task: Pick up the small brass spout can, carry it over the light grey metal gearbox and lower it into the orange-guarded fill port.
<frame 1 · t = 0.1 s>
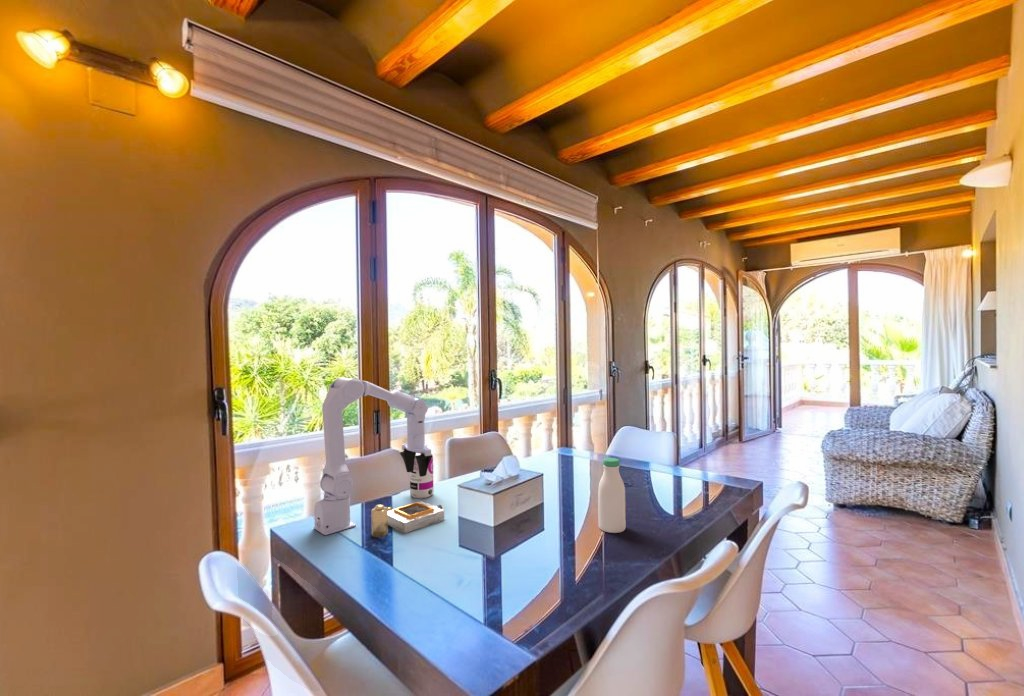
hand: (416, 473, 157), 10 cm above the table, tool pointing down, fingers open, 7 cm apart
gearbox: (413, 521, 141), on the table
supplement can: (421, 495, 166), on the table
spout can: (379, 533, 132), on the table
milk bottle: (612, 529, 134), on the table
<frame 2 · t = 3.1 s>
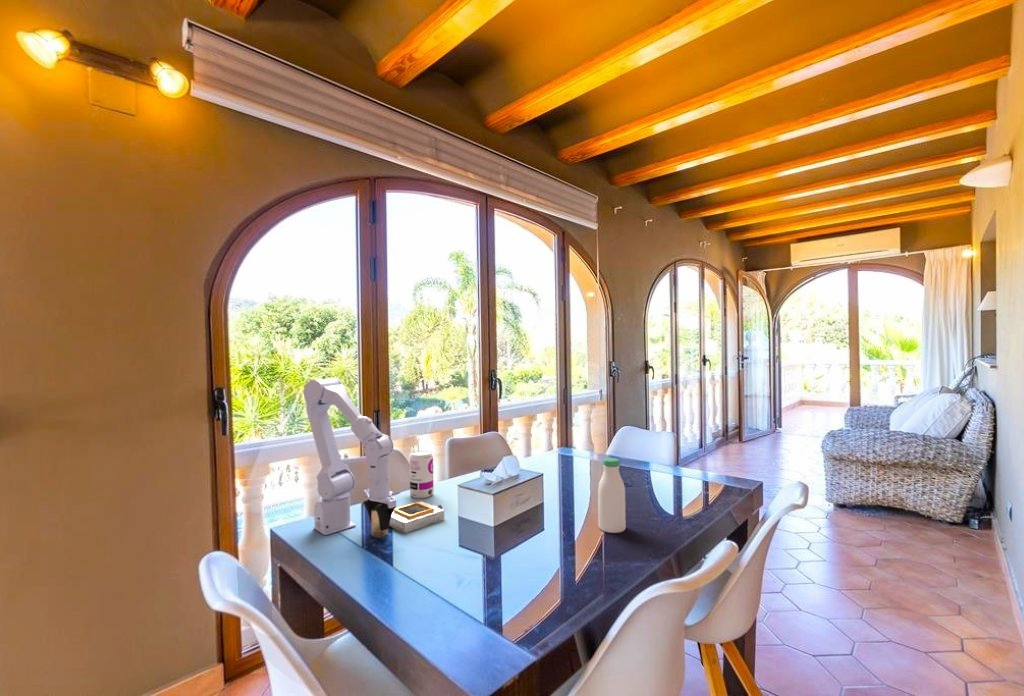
hand: (379, 527, 132), 2 cm above the table, tool pointing down, fingers closed on spout can, 4 cm apart
spout can: (379, 533, 132), on the table, touching gripper
everything else where it was.
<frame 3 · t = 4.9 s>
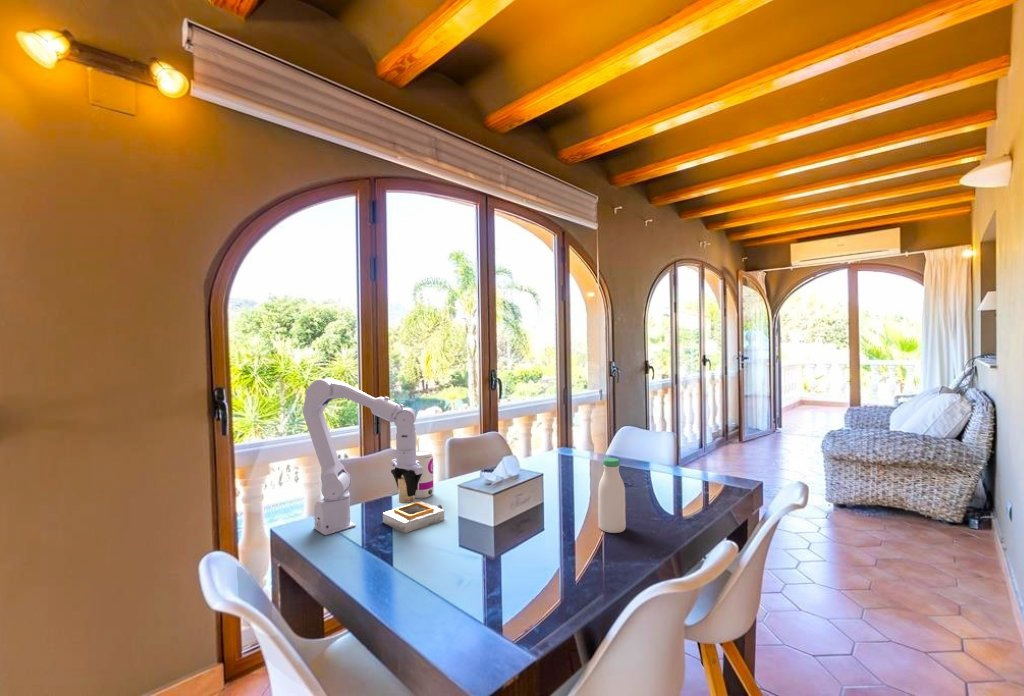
hand: (406, 493, 139), 9 cm above the table, tool pointing down, fingers closed on spout can, 4 cm apart
spout can: (406, 500, 139), point 7 cm above the table, touching gripper
everything else where it was.
when the fingers open (4 cm above the table, at t = 7.0 s): spout can drops 2 cm, resting in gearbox.
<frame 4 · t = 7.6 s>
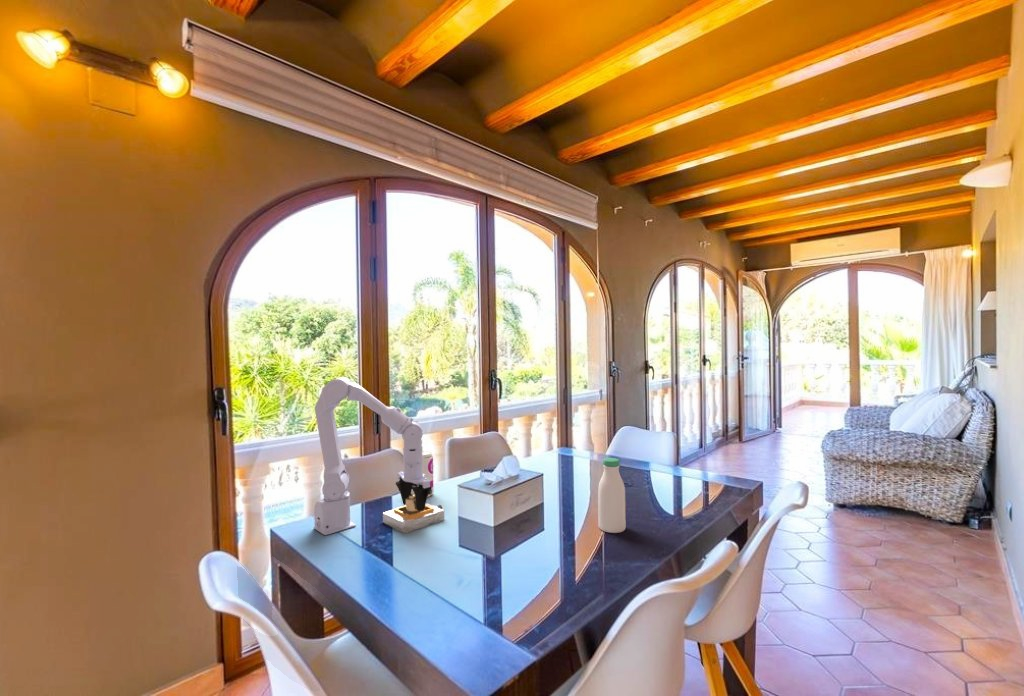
hand: (413, 506, 141), 4 cm above the table, tool pointing down, fingers open, 7 cm apart
spout can: (413, 521, 141), resting in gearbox
everything else where it was.
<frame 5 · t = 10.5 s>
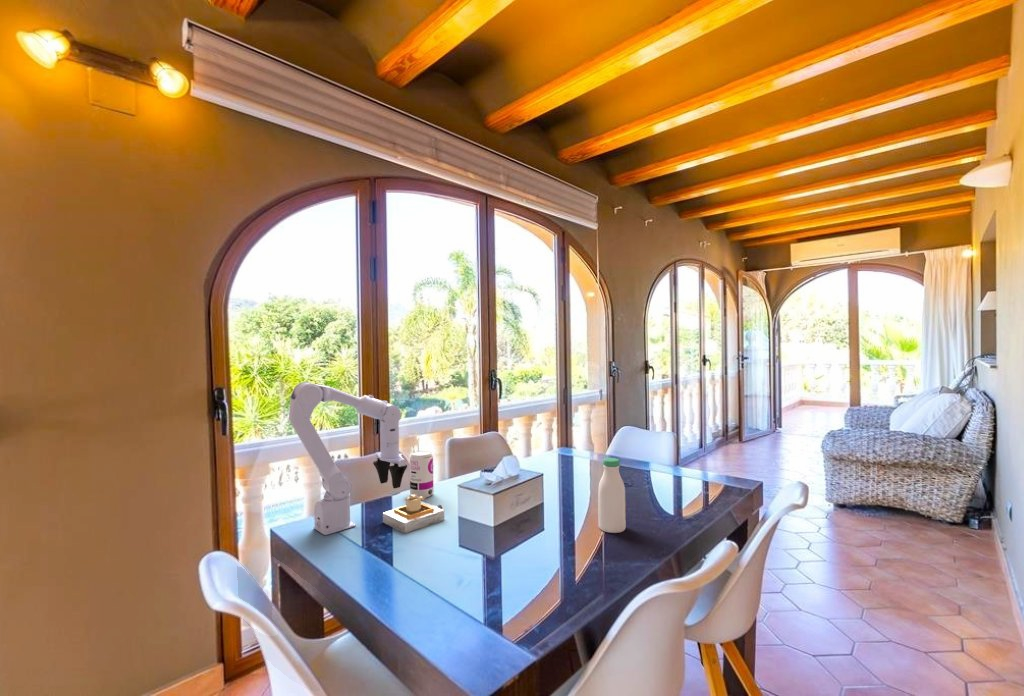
hand: (390, 485, 147), 9 cm above the table, tool pointing down, fingers open, 7 cm apart
nothing on the table moved.
at the end: spout can 0.1 cm off-centre on the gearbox, point 0.0 cm above the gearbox's base; spout can tilted 0°; the gripper is holding nothing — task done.
